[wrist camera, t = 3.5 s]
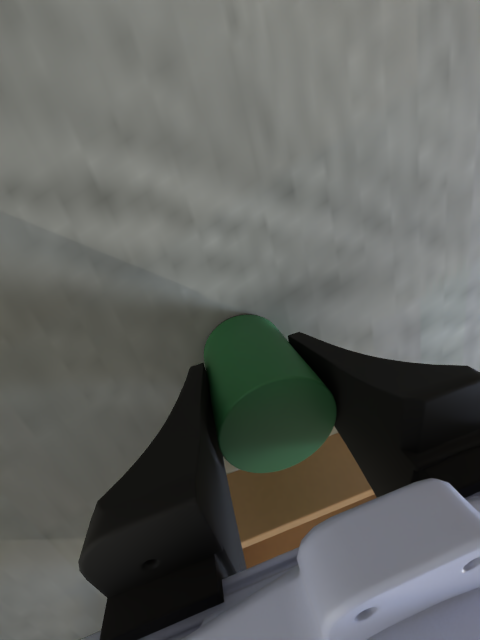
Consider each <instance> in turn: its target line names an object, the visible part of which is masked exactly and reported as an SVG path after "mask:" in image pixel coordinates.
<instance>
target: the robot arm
mask: <svg viewBox="0 0 480 640" xmlns="http://www.w3.org/2000/svg"><path fill="white" fill-rule="evenodd" d="M288 340H289V343H290V344H291V345H292V347H293V348H294V349H295V350H296V351H297V352H298V354H299V355H300V356H301V357H302V358H303V359H304V361H305V362H306V363H307V364H308V365H309V366H310V368H311V369H312V370H313V371H314V372H315V373H316V375H317V376H318V377H319V378H320V379H321V381H322V382H323V383H324V384H325V385H326V386H327V388H328V389H329V390H330V391H331V393H332V394H333V396H334V399H335V402H336V407H337V416H336V421H335V424H334V426H335V428H336V430H337V431H338V433H339V434H340V436H341V438H342V439H343V441H344V442H345V444H346V446H347V447H348V449H349V451H350V452H351V454H352V456H353V457H354V459H355V461H356V462H357V464H358V466H359V467H360V469H361V471H362V473H363V474H364V476H365V478H366V480H367V481H368V483H369V485H370V486H371V488H372V490H373V492H374V494H375V495H376V497H377V498H375V499H373V500H371V501H368V502H366V503H363V504H361V505H358V506H356V507H354V508H351V509H349V510H346V511H344V512H342V513H339V514H337V515H334V516H332V517H330V518H328V519H326V520H325V521H323V522H321V523H320V524H318V525H316V526H314V527H313V528H312V529H311V530H310V531H309V532H308V533H307V534H306V536H305V537H304V538H303V539H302V540H301V543H300V546H299V547H298V548H295V549H293V550H291V551H288V552H286V553H284V554H281V555H279V556H276V557H274V558H272V559H269V560H267V561H265V562H262V563H260V564H258V565H255V566H253V567H250V568H248V569H247V567H246V563H245V559H244V554H243V550H242V545H241V541H240V536H239V532H238V527H237V523H236V518H235V513H234V509H233V504H232V499H231V494H230V490H229V485H228V480H227V475H226V470H225V465H224V458H223V455H222V453H221V451H220V449H219V446H218V441H217V435H216V429H215V423H214V417H213V411H212V404H211V398H210V392H209V385H208V379H207V373H206V370H205V367H204V364H203V363H201V364H198V365H195V366H192V367H191V368H190V369H189V372H188V375H187V378H186V381H185V383H184V386H183V388H182V390H181V393H180V395H179V397H178V399H177V401H176V403H175V405H174V407H173V409H172V411H171V413H170V415H169V417H168V419H167V420H166V422H165V424H164V425H163V427H162V428H161V430H160V431H159V433H158V434H157V436H156V437H155V438H154V440H153V441H152V442H151V444H150V445H149V446H148V448H147V449H146V450H145V452H144V453H143V454H142V455H141V456H140V458H139V459H138V460H137V461H136V462H135V463H134V465H133V466H132V467H131V468H130V469H129V470H128V471H127V472H126V473H125V474H124V476H123V477H122V478H121V479H120V480H119V481H118V482H117V483H116V484H115V485H114V486H113V487H112V488H111V489H110V490H109V491H108V492H107V493H106V494H105V495H104V496H103V497H102V498H101V499H100V500H98V502H97V504H96V507H95V510H94V512H93V515H92V518H91V521H90V524H89V528H88V531H87V534H86V538H85V541H84V545H83V548H82V552H81V555H80V559H79V562H78V563H79V570H80V572H81V573H82V574H83V576H84V577H85V578H86V580H87V581H89V582H90V583H91V584H92V585H93V586H94V587H96V588H97V589H98V590H99V591H100V592H101V593H103V594H104V595H105V596H106V597H107V603H106V608H105V614H104V619H103V624H102V629H101V631H99V632H96V633H94V634H92V635H89V636H87V637H85V638H82V639H80V640H480V372H478V371H476V370H474V369H472V368H471V367H469V366H455V365H431V364H419V363H409V362H401V361H395V360H388V359H383V358H377V357H373V356H368V355H364V354H360V353H356V352H353V351H350V350H346V349H343V348H340V347H337V346H334V345H331V344H329V343H326V342H324V341H321V340H318V339H316V338H313V337H311V336H308V335H306V334H303V333H300V332H298V333H295V334H292V335H289V336H288Z"/></svg>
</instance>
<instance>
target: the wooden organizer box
mask: <svg viewBox="0 0 480 640" xmlns="http://www.w3.org/2000/svg"><path fill="white" fill-rule="evenodd" d="M223 458H224V457H223ZM224 465H225V470H226V475H227V480H228V485H229V490H230V494H231V499H232V504H233V509H234V513H235V518H236V523H237V527H238V532H239V536H240V541H241V545H242V550H243V554H244V559H245V563H246V567H247V569H248V568H250V567H253V566H255V565H258V564H260V563H262V562H265V561H267V560H269V559H272V558H274V557H276V556H279V555H281V554H284V553H286V552H288V551H291V550H293V549H295V548H298V547H299V546H300V543H301V540H302V539H303V538H304V537H305V536H306V534H307V533H308V532H309V531H310V530H311V529H312V528H313V527H314V526H316V525H318V524H320V523H321V522H323V521H325V520H326V519H328V518H330V517H332V516H334V515H337V514H339V513H342V512H344V511H346V510H349V509H351V508H354V507H356V506H358V505H361V504H363V503H366V502H368V501H371V500H373V499H375V498H377V497H376V495H375V494H374V492H373V490H372V488H371V486H370V485H369V483H368V481H367V480H366V478H365V476H364V474H363V473H362V471H361V469H360V467H359V466H358V464H357V462H356V461H355V459H354V457H353V456H352V454H351V452H350V451H349V449H348V447H347V446H346V444H345V442H344V441H343V439H342V438H341V436H340V434H339V433H338V431H337V430H336V428H335V426H334V427H333V429H332V431H331V433H330V435H329V437H328V438H327V439H326V441H325V442H324V443H323V444H322V446H321V447H320V448H319V449H318V450H317V451H315V452H314V453H313V454H312V455H311V456H309V457H308V458H306V459H305V460H303V461H302V462H300V463H298V464H296V465H294V466H292V467H289V468H286V469H283V470H280V471H276V472H270V473H252V472H246V471H243V470H240V469H238V468H236V467H234V466H233V465H231V464H230V463H229V462H228V461H227V460H226V459H225V458H224Z"/></svg>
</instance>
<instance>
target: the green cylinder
mask: <svg viewBox="0 0 480 640" xmlns="http://www.w3.org/2000/svg"><path fill="white" fill-rule="evenodd" d="M204 362H205V368H206V373H207V379H208V385H209V392H210V398H211V404H212V411H213V417H214V423H215V429H216V435H217V441H218V446H219V449H220V451H221V453H222V455H223V457H224V458H225V459H226V460H227V461H228V462H229V463H230V464H231V465H233V466H234V467H236V468H238V469H240V470H243V471H246V472H252V473H270V472H276V471H280V470H283V469H286V468H289V467H292V466H294V465H296V464H298V463H300V462H302V461H303V460H305V459H306V458H308V457H309V456H311V455H312V454H313V453H314V452H315V451H317V450H318V449H319V448H320V447H321V446H322V444H323V443H324V442H325V441H326V439H327V438H328V437H329V435H330V433H331V431H332V429H333V427H334V424H335V421H336V416H337V407H336V402H335V399H334V396H333V394H332V393H331V391H330V390H329V389H328V388H327V386H326V385H325V384H324V383H323V382H322V381H321V379H320V378H319V377H318V376H317V375H316V373H315V372H314V371H313V370H312V369H311V368H310V366H309V365H308V364H307V363H306V362H305V361H304V359H303V358H302V357H301V356H300V355H299V354H298V352H297V351H296V350H295V349H294V348H293V347H292V345H291V344H290V343H289V342H288V341H287V340H286V338H285V337H284V336H283V335H282V334H281V333H280V331H279V330H278V329H277V328H276V327H275V326H274V324H272V323H271V322H270V321H269V320H267V319H265V318H263V317H260V316H256V315H240V316H236V317H233V318H230V319H228V320H226V321H224V322H223V323H221V324H220V325H219V326H218V327H216V328H215V329H214V331H213V332H212V333H211V334H210V336H209V338H208V340H207V342H206V344H205V348H204Z"/></svg>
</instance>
